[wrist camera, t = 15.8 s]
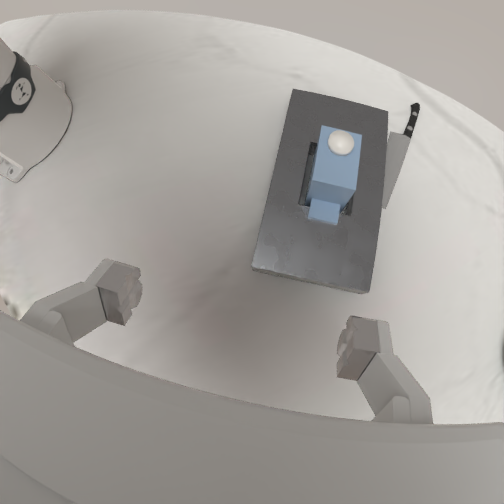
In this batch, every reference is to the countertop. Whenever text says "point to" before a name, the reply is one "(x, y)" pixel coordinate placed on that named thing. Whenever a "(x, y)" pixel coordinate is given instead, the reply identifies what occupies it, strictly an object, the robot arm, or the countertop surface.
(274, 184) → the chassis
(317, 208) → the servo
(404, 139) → the chef's knife
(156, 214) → the countertop surface
